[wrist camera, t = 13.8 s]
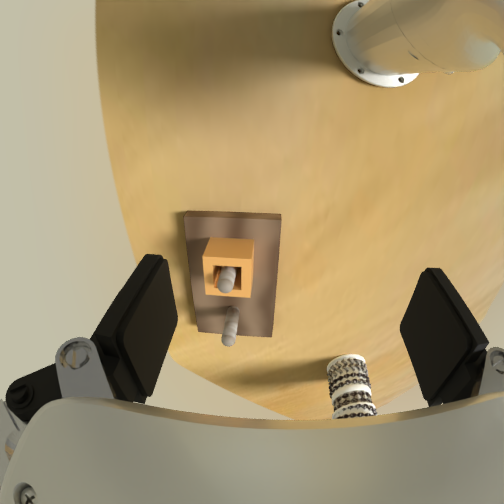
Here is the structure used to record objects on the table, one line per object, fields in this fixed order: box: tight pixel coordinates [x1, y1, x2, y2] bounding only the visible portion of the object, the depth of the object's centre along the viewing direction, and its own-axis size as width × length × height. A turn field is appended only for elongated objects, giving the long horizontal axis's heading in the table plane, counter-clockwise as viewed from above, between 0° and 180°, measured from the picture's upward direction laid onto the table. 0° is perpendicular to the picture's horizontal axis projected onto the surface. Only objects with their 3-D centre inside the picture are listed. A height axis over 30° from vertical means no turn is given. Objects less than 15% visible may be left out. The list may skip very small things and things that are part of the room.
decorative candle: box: [327, 354, 377, 419], centre depth 44 cm, size 9×9×25 cm
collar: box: [202, 237, 254, 298], centre depth 38 cm, size 6×6×5 cm
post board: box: [184, 211, 281, 346], centre depth 41 cm, size 13×22×10 cm, turn 179°
